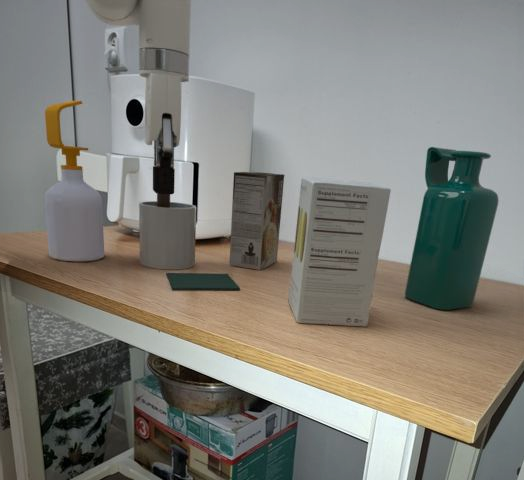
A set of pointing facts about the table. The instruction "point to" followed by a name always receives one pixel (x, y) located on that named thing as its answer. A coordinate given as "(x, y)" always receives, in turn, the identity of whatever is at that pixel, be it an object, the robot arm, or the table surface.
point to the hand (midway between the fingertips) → (163, 191)
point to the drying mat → (201, 281)
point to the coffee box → (255, 219)
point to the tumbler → (167, 235)
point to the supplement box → (336, 250)
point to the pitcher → (451, 231)
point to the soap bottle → (71, 202)
